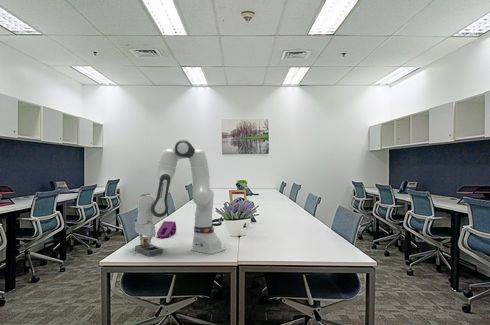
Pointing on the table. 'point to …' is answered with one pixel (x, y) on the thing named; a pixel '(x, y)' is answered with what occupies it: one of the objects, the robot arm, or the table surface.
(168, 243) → the table surface
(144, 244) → the bronze block
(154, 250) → the gray slotted block
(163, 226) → the mounting bracket
